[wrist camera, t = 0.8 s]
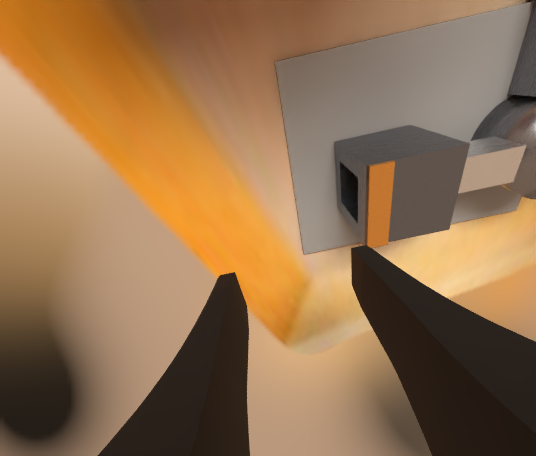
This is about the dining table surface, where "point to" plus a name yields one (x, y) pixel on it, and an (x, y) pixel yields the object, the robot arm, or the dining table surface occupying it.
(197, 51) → the dining table surface
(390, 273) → the robot arm
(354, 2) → the dining table surface
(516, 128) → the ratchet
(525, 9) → the mat
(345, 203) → the socket
